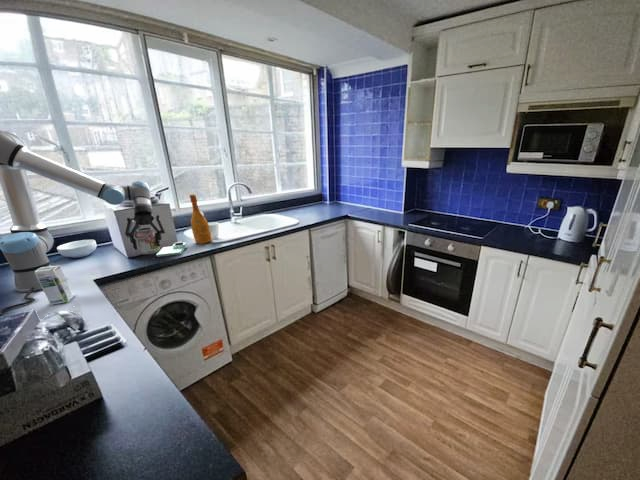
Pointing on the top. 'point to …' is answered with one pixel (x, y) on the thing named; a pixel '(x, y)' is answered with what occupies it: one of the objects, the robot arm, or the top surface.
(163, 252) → the scale
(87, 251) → the cereal bowl
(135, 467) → the top surface
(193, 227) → the wine bottle
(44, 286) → the syrup box
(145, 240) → the glass clasp jar
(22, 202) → the robot arm
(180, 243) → the tare button
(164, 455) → the top surface
